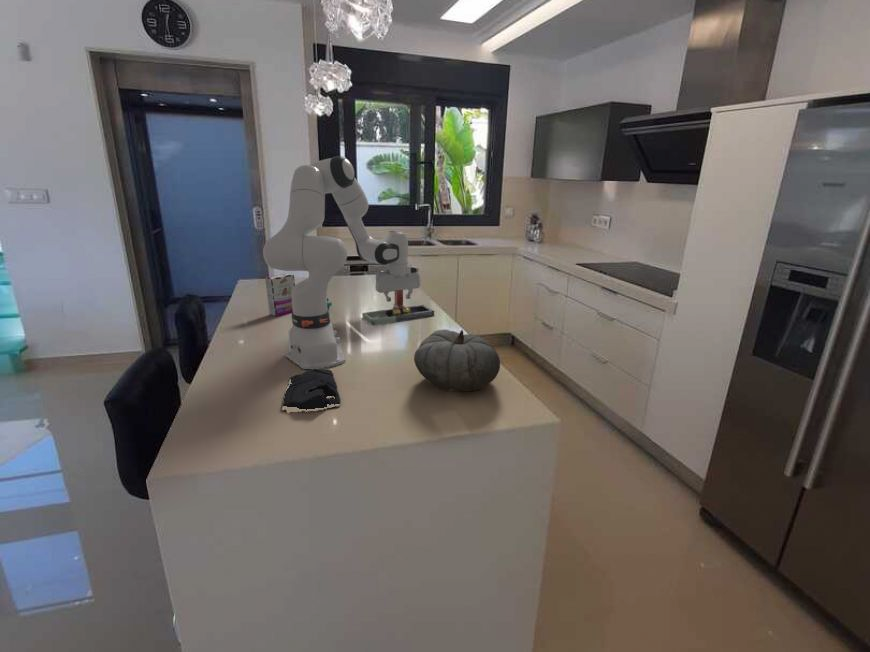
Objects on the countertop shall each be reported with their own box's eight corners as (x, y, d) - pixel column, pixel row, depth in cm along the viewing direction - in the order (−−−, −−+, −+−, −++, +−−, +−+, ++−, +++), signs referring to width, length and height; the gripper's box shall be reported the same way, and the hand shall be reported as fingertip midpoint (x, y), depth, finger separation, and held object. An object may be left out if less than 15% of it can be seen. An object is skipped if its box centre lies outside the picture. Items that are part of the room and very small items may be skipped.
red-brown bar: (404, 311, 199) (404, 289, 196) (398, 312, 198) (398, 290, 194) (399, 308, 204) (398, 286, 201) (393, 309, 203) (392, 287, 199)
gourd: (423, 400, 117) (428, 334, 115) (403, 375, 141) (406, 320, 139) (511, 398, 125) (517, 336, 122) (477, 375, 148) (482, 323, 146)
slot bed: (434, 317, 192) (434, 310, 191) (395, 323, 183) (395, 316, 182) (423, 311, 200) (423, 304, 199) (385, 316, 192) (385, 310, 191)
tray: (395, 324, 183) (395, 317, 182) (372, 327, 178) (372, 320, 177) (385, 316, 192) (384, 309, 191) (362, 319, 187) (362, 312, 187)
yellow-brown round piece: (412, 316, 190) (412, 308, 189) (404, 317, 188) (404, 309, 187) (408, 313, 193) (408, 305, 192) (401, 314, 191) (401, 306, 190)
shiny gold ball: (402, 317, 188) (402, 309, 187) (394, 318, 186) (394, 310, 185) (398, 315, 191) (398, 307, 190) (391, 316, 189) (391, 308, 188)
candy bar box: (290, 308, 200) (287, 272, 195) (298, 311, 198) (294, 274, 192) (268, 314, 192) (264, 276, 187) (275, 317, 189) (271, 278, 184)
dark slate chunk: (339, 375, 138) (339, 361, 137) (341, 411, 118) (340, 395, 116) (287, 379, 135) (286, 364, 133) (279, 416, 115) (277, 400, 113)
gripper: (378, 272, 187) (379, 304, 192) (422, 268, 197) (421, 299, 202) (372, 269, 193) (373, 301, 197) (415, 265, 202) (415, 295, 207)
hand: (398, 300), depth 200 cm, fingers open, 8 cm apart
